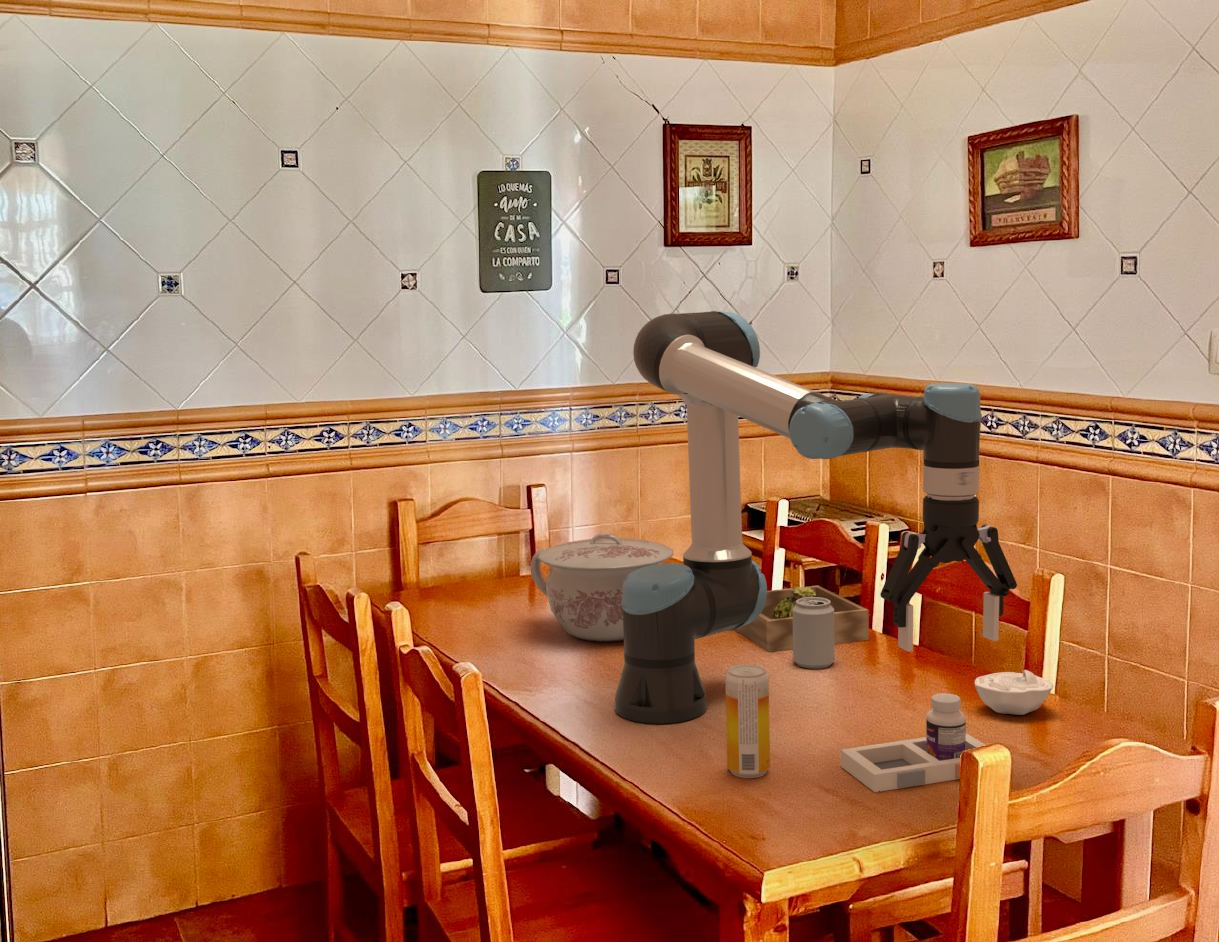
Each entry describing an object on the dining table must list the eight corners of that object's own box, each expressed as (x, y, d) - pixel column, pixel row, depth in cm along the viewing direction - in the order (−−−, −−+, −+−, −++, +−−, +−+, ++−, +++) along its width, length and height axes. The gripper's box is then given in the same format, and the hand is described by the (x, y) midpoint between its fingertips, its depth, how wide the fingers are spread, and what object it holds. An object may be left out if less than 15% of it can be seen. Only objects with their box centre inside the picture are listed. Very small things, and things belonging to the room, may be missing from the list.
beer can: (766, 762, 180) (764, 662, 178) (773, 778, 174) (771, 675, 172) (724, 764, 180) (722, 664, 178) (730, 780, 174) (728, 677, 172)
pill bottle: (923, 756, 180) (923, 691, 178) (961, 756, 179) (962, 691, 178) (929, 770, 174) (929, 703, 173) (968, 770, 174) (968, 703, 172)
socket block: (876, 793, 168) (876, 775, 167) (840, 766, 178) (840, 749, 177) (1004, 773, 173) (1004, 756, 173) (963, 747, 183) (963, 731, 183)
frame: (768, 652, 234) (768, 621, 234) (725, 623, 255) (725, 595, 255) (868, 640, 240) (868, 609, 239) (818, 613, 261) (818, 585, 260)
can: (834, 670, 222) (833, 605, 220) (791, 669, 223) (791, 604, 222) (835, 658, 229) (834, 595, 227) (794, 657, 231) (793, 594, 229)
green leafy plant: (843, 647, 237) (843, 598, 235) (760, 645, 240) (759, 596, 239) (846, 623, 253) (846, 577, 252) (768, 622, 257) (767, 576, 255)
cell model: (970, 700, 204) (970, 660, 203) (1046, 702, 202) (1046, 662, 201) (978, 721, 194) (978, 680, 193) (1057, 723, 192) (1058, 681, 191)
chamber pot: (698, 641, 244) (696, 537, 241) (567, 660, 234) (563, 552, 231) (642, 609, 269) (640, 515, 266) (522, 625, 259) (518, 528, 256)
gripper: (883, 506, 164) (882, 660, 167) (1045, 493, 171) (1040, 641, 174) (856, 497, 171) (856, 645, 174) (1012, 485, 178) (1009, 627, 181)
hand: (948, 644), depth 174 cm, fingers open, 13 cm apart
